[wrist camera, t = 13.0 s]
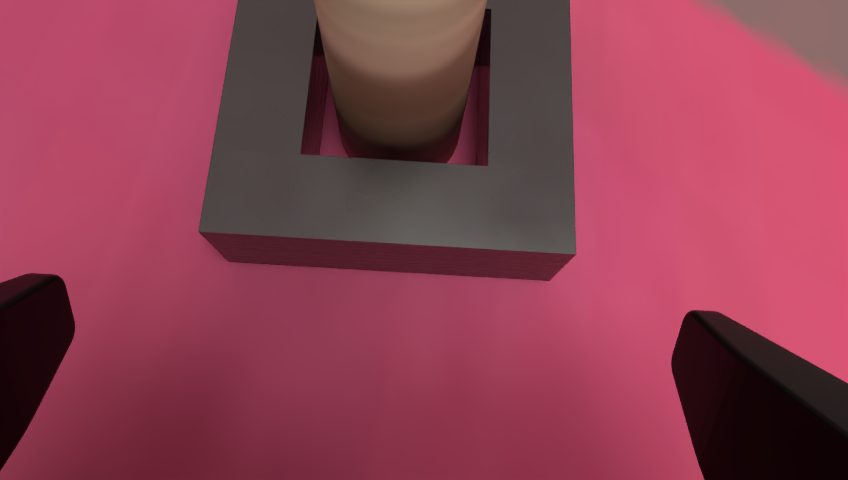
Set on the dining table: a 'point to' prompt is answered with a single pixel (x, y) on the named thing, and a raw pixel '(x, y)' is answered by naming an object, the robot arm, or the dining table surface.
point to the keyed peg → (400, 73)
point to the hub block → (391, 179)
